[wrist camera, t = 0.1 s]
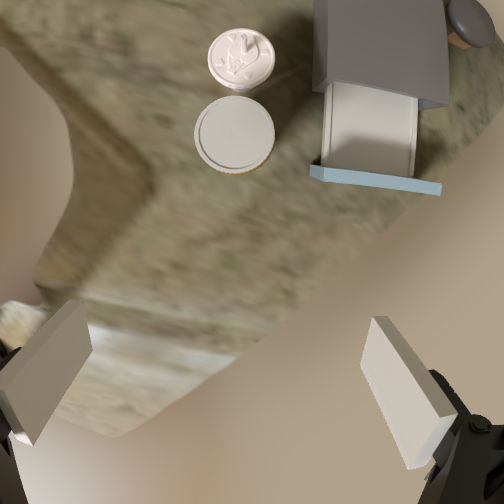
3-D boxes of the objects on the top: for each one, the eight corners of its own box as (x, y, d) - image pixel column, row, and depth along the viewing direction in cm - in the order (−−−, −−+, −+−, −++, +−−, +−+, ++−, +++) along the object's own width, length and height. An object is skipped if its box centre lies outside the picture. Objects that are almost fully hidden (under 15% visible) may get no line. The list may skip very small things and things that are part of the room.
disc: (443, -10, 26) (448, -14, 24) (485, 10, 26) (491, 8, 25) (449, 36, 28) (455, 33, 27) (491, 55, 29) (498, 53, 27)
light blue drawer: (316, 39, 33) (330, 18, 26) (417, 62, 34) (445, 50, 27) (309, 175, 39) (323, 181, 32) (411, 187, 39) (440, 195, 32)
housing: (313, -24, 30) (326, -53, 23) (413, 1, 31) (439, -19, 23) (311, 91, 36) (326, 77, 28) (417, 111, 36) (449, 105, 29)
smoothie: (278, 69, 35) (294, 29, 22) (253, 111, 36) (256, 90, 23) (231, 47, 34) (225, -1, 20) (206, 89, 35) (186, 58, 22)
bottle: (271, 117, 37) (286, 96, 22) (263, 172, 39) (273, 185, 24) (214, 109, 36) (195, 85, 22) (206, 165, 38) (183, 174, 24)
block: (436, 12, 31) (453, 2, 26) (461, 22, 31) (479, 14, 27) (438, 39, 33) (456, 30, 28) (464, 49, 33) (483, 42, 28)
